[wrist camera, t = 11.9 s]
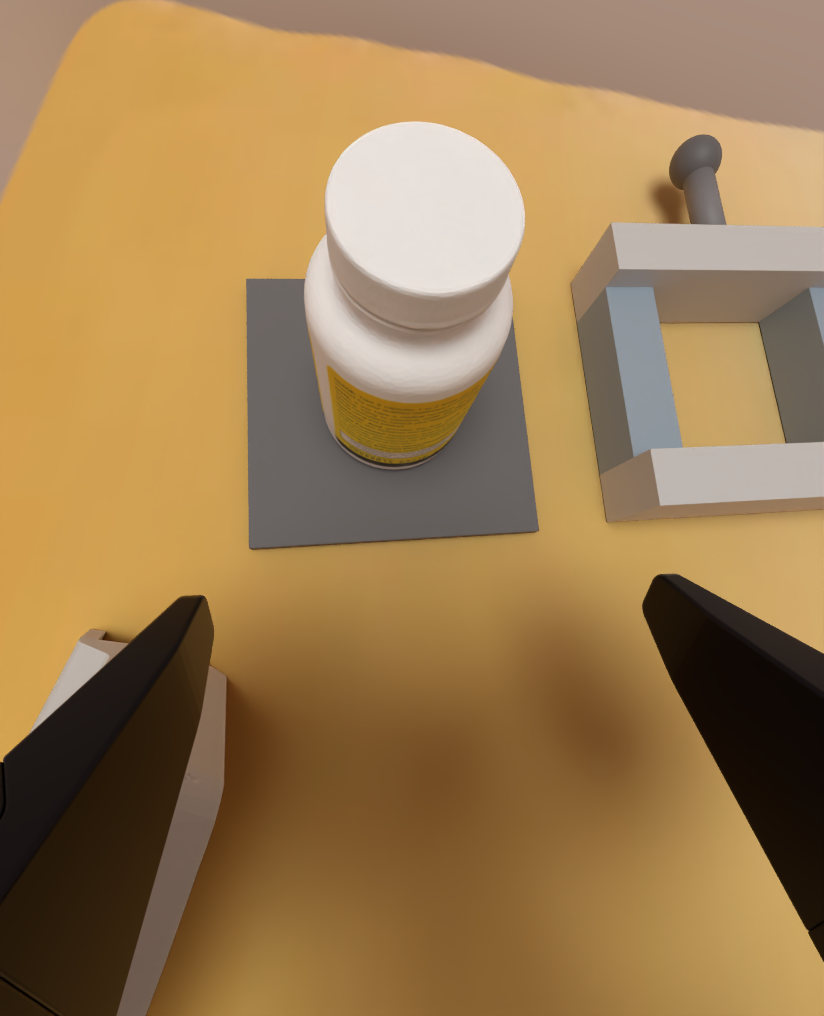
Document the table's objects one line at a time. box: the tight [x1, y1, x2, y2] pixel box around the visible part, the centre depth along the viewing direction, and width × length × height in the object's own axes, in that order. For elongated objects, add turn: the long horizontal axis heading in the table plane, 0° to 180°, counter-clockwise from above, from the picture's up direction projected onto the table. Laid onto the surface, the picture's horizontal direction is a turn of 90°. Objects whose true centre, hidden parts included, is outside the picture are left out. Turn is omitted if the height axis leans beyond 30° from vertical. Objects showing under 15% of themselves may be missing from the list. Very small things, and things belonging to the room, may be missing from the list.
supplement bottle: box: [304, 122, 525, 470], centre depth 14 cm, size 5×5×10 cm
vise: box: [571, 135, 824, 522], centre depth 20 cm, size 16×11×4 cm, turn 4°
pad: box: [246, 279, 539, 550], centre depth 19 cm, size 11×11×1 cm
